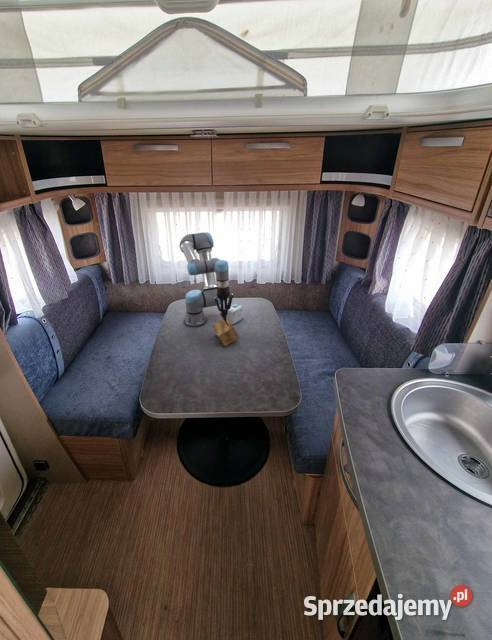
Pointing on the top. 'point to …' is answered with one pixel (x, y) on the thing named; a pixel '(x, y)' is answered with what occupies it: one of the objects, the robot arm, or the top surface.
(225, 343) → the light wood box
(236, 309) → the light bulb box
